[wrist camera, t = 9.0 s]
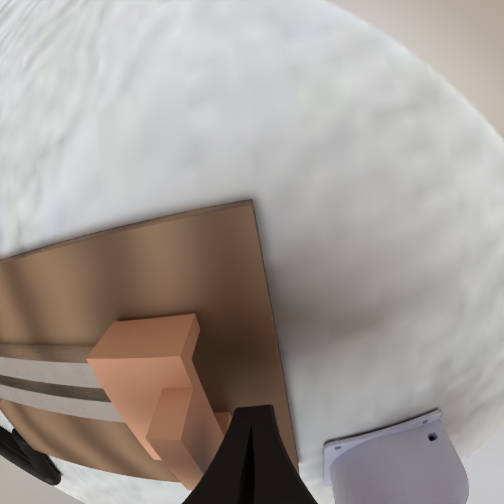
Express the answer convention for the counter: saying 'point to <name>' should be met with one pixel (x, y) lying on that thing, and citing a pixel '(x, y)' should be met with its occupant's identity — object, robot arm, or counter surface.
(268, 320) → the walnut board
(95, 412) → the tong arm
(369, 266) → the counter surface
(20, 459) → the door handle
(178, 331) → the sleeve
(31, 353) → the fixed tong arm
